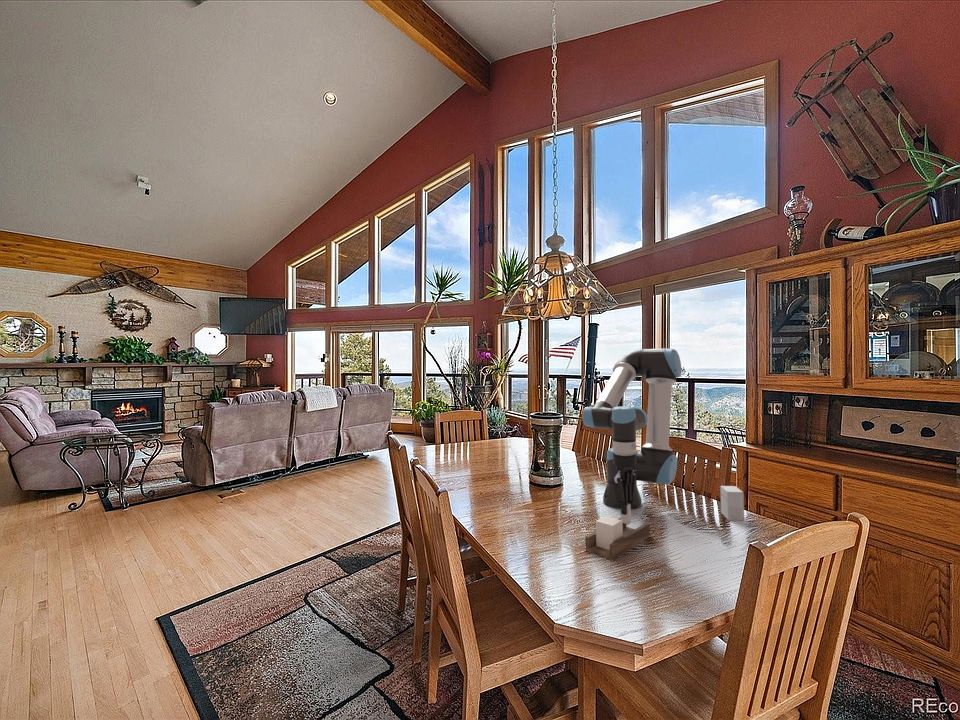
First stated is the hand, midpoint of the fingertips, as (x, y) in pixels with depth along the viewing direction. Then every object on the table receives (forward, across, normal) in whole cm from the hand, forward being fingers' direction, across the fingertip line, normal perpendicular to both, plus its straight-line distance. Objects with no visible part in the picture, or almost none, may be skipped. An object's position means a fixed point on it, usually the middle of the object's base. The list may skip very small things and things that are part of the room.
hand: (626, 522), depth 151 cm
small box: (+6, +44, -19) cm, 49 cm away
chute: (+5, -5, 0) cm, 7 cm away
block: (+4, -11, 0) cm, 12 cm away
